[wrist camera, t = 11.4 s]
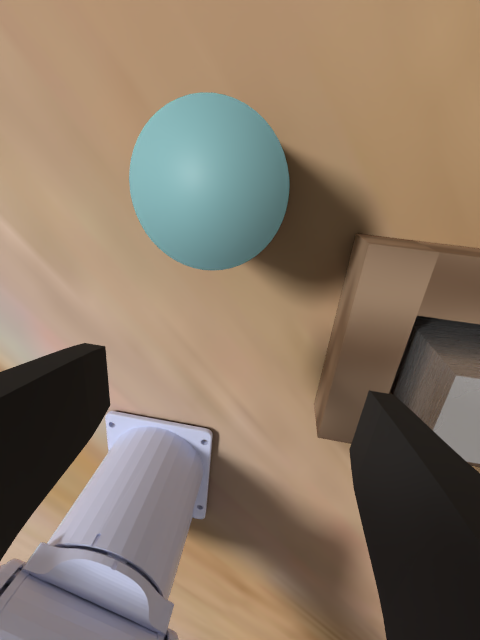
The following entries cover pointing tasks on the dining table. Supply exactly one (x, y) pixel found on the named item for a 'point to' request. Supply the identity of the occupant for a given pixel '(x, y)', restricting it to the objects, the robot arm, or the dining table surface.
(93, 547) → the robot arm
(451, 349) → the square bit
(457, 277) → the walnut bore block
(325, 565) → the dining table surface
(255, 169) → the round bit
